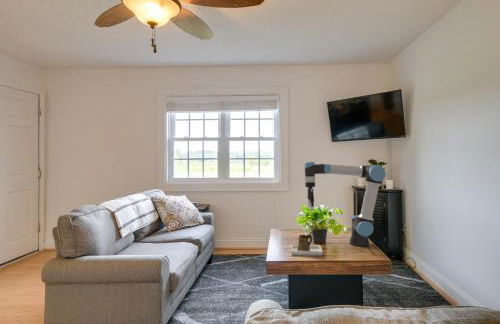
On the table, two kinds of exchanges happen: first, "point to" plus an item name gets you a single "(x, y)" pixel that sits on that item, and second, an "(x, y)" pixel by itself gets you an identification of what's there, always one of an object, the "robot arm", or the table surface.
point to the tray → (314, 251)
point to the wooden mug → (305, 242)
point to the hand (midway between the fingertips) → (311, 209)
